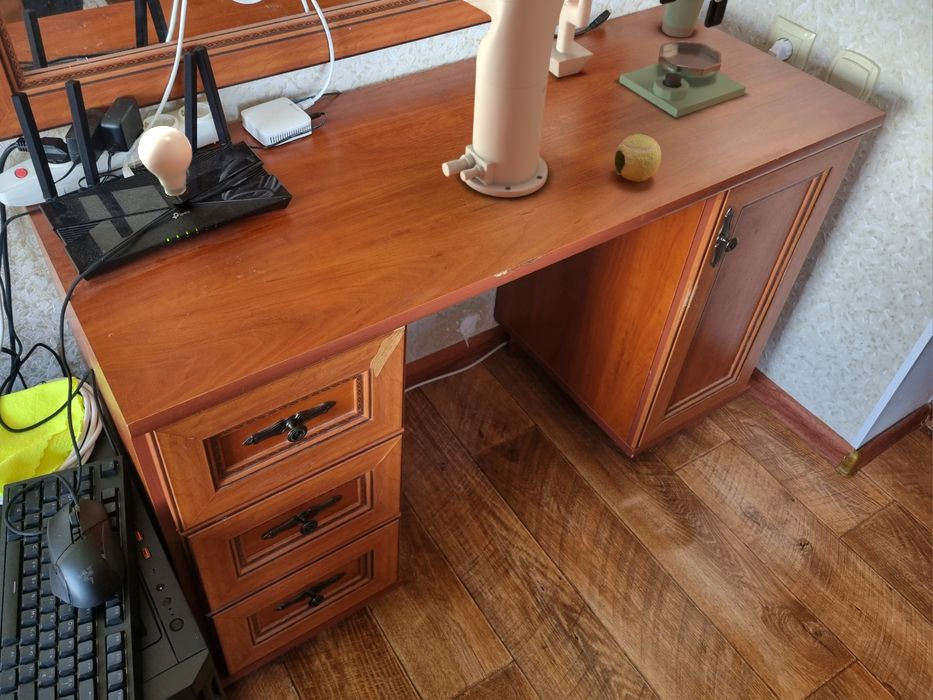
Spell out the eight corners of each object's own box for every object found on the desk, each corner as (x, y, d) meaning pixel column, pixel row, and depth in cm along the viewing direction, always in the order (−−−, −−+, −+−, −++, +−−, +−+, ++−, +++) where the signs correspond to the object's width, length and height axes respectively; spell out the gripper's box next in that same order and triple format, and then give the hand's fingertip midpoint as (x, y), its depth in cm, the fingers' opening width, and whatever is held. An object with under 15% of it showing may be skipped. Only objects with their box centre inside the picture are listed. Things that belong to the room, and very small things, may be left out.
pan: (688, 83, 130) (690, 72, 128) (646, 58, 135) (648, 48, 134) (730, 69, 134) (733, 59, 132) (688, 46, 140) (690, 36, 138)
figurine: (562, 55, 142) (574, -32, 131) (594, 76, 136) (608, -12, 126) (529, 62, 139) (538, -26, 129) (559, 85, 134) (571, -5, 123)
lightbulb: (145, 201, 105) (123, 127, 98) (188, 184, 109) (169, 111, 101) (170, 222, 102) (149, 148, 95) (212, 204, 106) (196, 131, 98)
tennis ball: (647, 164, 117) (657, 124, 112) (663, 189, 112) (673, 148, 108) (606, 167, 116) (614, 126, 111) (620, 192, 112) (629, 151, 107)
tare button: (671, 90, 128) (673, 81, 127) (660, 84, 130) (662, 75, 129) (682, 86, 129) (684, 78, 128) (671, 80, 131) (673, 71, 130)
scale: (675, 117, 127) (680, 100, 125) (619, 82, 135) (622, 65, 133) (743, 94, 134) (748, 78, 132) (685, 61, 142) (689, 45, 140)
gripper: (656, -124, 112) (633, -2, 125) (747, -88, 103) (712, 40, 115) (694, -130, 115) (668, -10, 128) (785, -96, 106) (748, 30, 118)
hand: (689, 13), depth 121 cm, fingers open, 9 cm apart
